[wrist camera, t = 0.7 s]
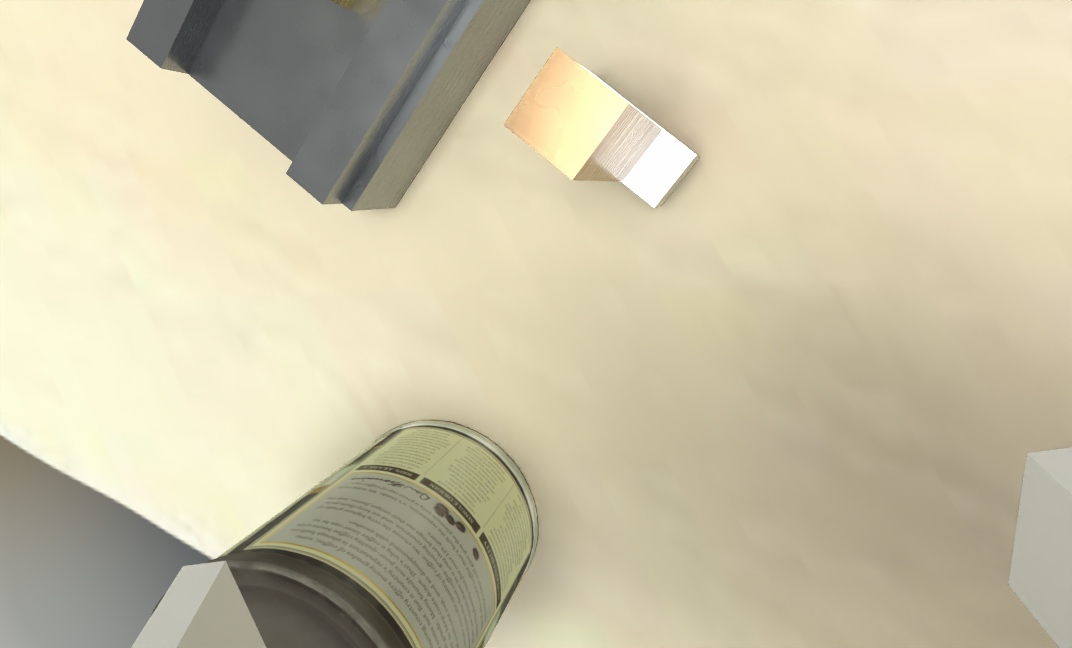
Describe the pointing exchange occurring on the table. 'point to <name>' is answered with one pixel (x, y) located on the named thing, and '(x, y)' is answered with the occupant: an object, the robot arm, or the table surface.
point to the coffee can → (394, 547)
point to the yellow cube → (344, 3)
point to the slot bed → (335, 78)
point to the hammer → (597, 132)
